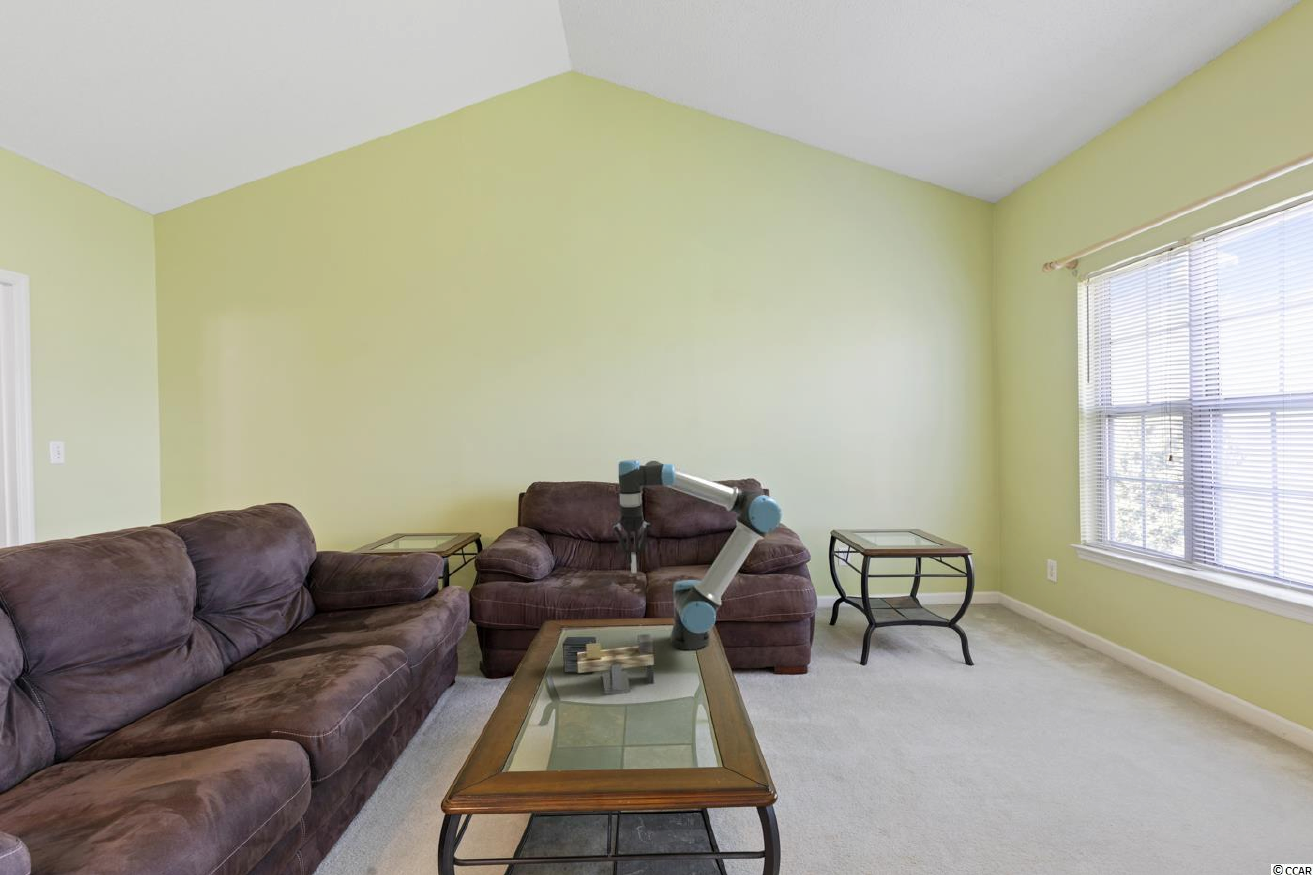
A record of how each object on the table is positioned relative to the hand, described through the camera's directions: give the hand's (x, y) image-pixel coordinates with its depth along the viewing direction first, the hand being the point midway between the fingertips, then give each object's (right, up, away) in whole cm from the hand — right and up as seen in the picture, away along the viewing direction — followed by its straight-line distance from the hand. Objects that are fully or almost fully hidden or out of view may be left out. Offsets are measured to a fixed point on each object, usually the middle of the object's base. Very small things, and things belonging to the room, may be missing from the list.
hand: (633, 572), depth 191 cm
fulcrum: (-1, -33, -12) cm, 35 cm away
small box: (-18, -33, -2) cm, 38 cm away
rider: (-12, -25, -14) cm, 32 cm away
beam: (-6, -26, -13) cm, 29 cm away
